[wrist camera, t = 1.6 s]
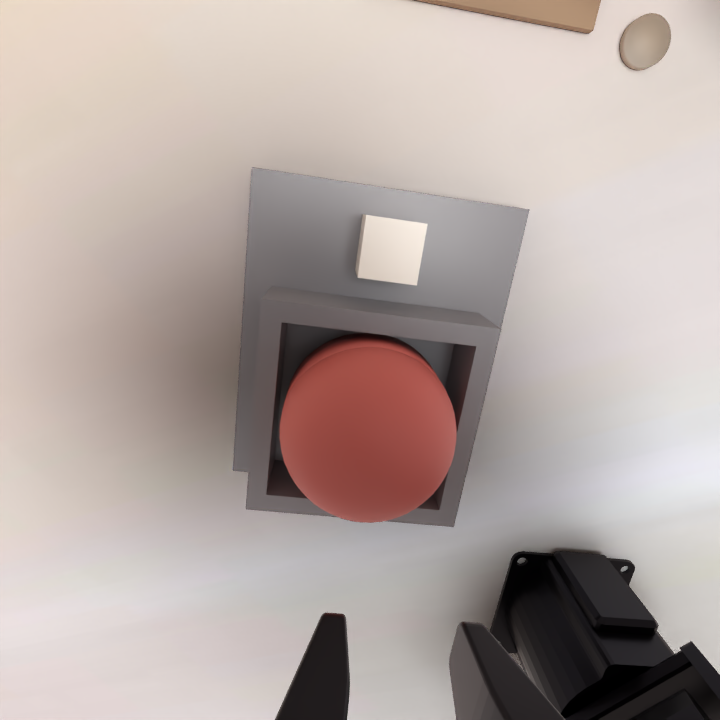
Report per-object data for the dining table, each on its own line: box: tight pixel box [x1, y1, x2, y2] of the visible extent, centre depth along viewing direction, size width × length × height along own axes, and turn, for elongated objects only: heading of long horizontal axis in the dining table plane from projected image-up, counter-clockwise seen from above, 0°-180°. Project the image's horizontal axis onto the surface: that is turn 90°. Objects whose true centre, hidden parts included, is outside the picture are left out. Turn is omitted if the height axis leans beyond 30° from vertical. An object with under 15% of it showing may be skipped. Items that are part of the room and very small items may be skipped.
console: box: [233, 167, 529, 527], centre depth 17 cm, size 12×10×4 cm
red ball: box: [280, 333, 457, 523], centre depth 16 cm, size 6×6×6 cm
